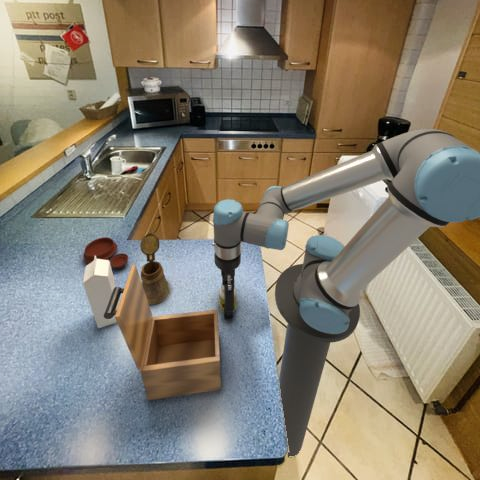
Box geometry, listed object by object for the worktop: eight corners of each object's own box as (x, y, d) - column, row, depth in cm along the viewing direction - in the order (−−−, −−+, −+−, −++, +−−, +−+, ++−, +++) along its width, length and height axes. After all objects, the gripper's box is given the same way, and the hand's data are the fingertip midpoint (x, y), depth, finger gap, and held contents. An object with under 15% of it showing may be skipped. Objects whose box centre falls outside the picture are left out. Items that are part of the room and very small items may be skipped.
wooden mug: (168, 268, 93) (163, 229, 86) (170, 300, 81) (164, 259, 74) (142, 273, 90) (135, 234, 83) (141, 308, 79) (132, 265, 71)
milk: (120, 304, 80) (107, 251, 71) (120, 321, 75) (106, 267, 66) (99, 310, 78) (83, 257, 69) (97, 329, 72) (79, 274, 64)
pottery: (105, 240, 105) (103, 232, 104) (139, 258, 97) (137, 250, 95) (77, 259, 96) (75, 250, 94) (112, 281, 87) (109, 272, 86)
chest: (218, 337, 71) (217, 309, 66) (220, 389, 60) (220, 360, 55) (156, 344, 69) (151, 316, 64) (147, 400, 58) (140, 371, 53)
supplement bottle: (238, 300, 82) (238, 279, 78) (234, 316, 77) (234, 294, 73) (222, 297, 83) (221, 276, 79) (217, 312, 78) (216, 290, 74)
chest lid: (135, 264, 56) (113, 267, 56) (119, 316, 46) (91, 320, 45) (152, 315, 64) (133, 318, 64) (141, 369, 53) (118, 374, 53)
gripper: (213, 228, 79) (214, 280, 88) (215, 282, 61) (217, 340, 70) (236, 227, 80) (235, 278, 89) (246, 279, 62) (243, 337, 71)
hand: (227, 305), depth 80 cm, fingers open, 7 cm apart
